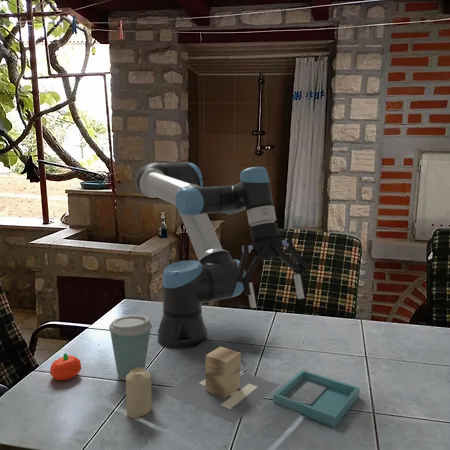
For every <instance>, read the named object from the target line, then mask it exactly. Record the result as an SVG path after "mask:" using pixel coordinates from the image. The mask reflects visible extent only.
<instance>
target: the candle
mask: <svg viewBox="0 0 450 450" xmlns="http://www.w3.org/2000/svg"><path fill="white" fill-rule="evenodd" d="M125 399H126V401H125V403H126V415H127V416H128V418H131V419H134V420H140V419H143V417H142V416H145V415H147V414H149V413H150V412H151V411H152V403H153V402H152V401H153V400H152V374H151V373H150V372H149V371H148V370H147V369H144V368H136V369H134V370H131V371H130V373H129V374H128V375H127V376H126V380H125Z"/></svg>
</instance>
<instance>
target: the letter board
mask: <svg viewBox="0 0 450 450" xmlns="http://www.w3.org/2000/svg"><path fill="white" fill-rule="evenodd" d="M244 373H245V374H244V375H243V376H241V377H240V388H239V389H237V390H236V391H235V392H233V393H232V394H231V395H229V396H228V397H227V398H224V397H221V396H219V395H216V394H214V393H211V392H209V391H206V390H205V367H204V368H202V369H201V370H199V371H197V372H196V373H193V374H192V375H190V377H188V378H186V379H185V380H183V381H182V382H180V383H178V384H176V385H175V386H173V387H172V388H170V389H169V390H167V391H166V392H164V393H163V394H164V395H167V396H169V397H171V398H173V399H175V400H178V401H180V402H183V403H184V404H187V405H189V406H192V407H195V408H197V409H199V410H201V411H203V412H205V413H208V414H211V415H213V416H215V417H218V418H220V419H222V420H224V421H226V422H230V423H232V424H235V423H236V422H238V421H239V420H240V419H241V418H243V416H244V415H246V414H247V413H248V412H249V411H250V410H252V409H253V408H254V407H255V406H256V405H257V404H258V403H260V402H261V401H262V400H264V399H265V398H266V397H267V396H268V395H269V394H270V393H272V392H273V391H274V390H275V389H277V387H279V386H280V384H279V383H275V382H272V381H269V380H267V379H264V378H261V377H259V376H255V375H252V374H249V373H247V372H244Z"/></svg>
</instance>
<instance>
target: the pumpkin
mask: <svg viewBox="0 0 450 450" xmlns="http://www.w3.org/2000/svg"><path fill="white" fill-rule="evenodd" d="M81 370H82V364H81V360H80V359H79V358H78V357H77V356H75V355H68V353H67V352H65V353H63V356H61V357H59V358H58V359H56V360H54V361H53V362H52V363H51V365H50V370H49V374H50V376H51V377H52V378H53V379H55V380H56V381H67V380H70V379H72V378H74V377H75V376H78V374H79V373H80V371H81Z"/></svg>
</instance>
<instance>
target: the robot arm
mask: <svg viewBox="0 0 450 450" xmlns="http://www.w3.org/2000/svg"><path fill="white" fill-rule="evenodd" d="M239 177H240V178H239V179H240V182H238V183H237V184H232V185H219V186H203V185H204V181H203V180H202V179H203V174H202V172H201V170H200V168H199V167H198V166H197V165H196V164H194V163H192V162H185V161H181V162H152V163H148V164H146V165H144V166H142V167H141V168H140V169H139V170H138V171H137V173H136V176H135V179H134V181H135V187H136V188H137V190H138V192H139V193H140V194H142V195H144V196H146V197H147V198H150V199H151V198H157V199H160V200H162V201H165V202H167V203H170V204H172V205H174V206H176V210H178V212H179V215H180V218H181V219H182V222H183V224H184V227H185V231H186V232H187V235H188V237H189V240H190V242H191V244H192V247H193V249H194V253H195V255H196V257H197V260H192V259H190V260H180V261H177V262H173V263H171V264H169V265H167V266H166V267H165V268H164V270H163V271H162V272H163V275H162V283H161V285H162V309H163V311H162V312H163V313H162V317H161V321H160V324H159V327H158V330H157V342H158V343H159V344H160V345H162V346H165V347H168V348H170V349H171V348H172V349H191V348H196V347H198V346H200V345H201V344H204V343H205V342H207V340H208V330H207V328H206V324H205V321H204V318H203V315H202V304H205V303H210V302H215V301H216V302H217V301H220V300H221V301H222V300H226V299H231V298H234V297H238V296H240V295H241V294H242V293H243V292H244V295H245V296H247V297H248V301H249V305H250V309H256V308H257V302H256V297H255V290H254V284H253V282H250V280H251V278H252V276H253V275H254V272H255V271H256V269H257V267H258V266H259V264H260V262H261V260H267V259H274V258H277V259H279V260H280V261H281V262H283V264H285V265H286V266H288V268H289V269H291V270H292V271H293V272H294V273H295V274H293V275H292V276H293V281H294V286H295V291H296V297H297V299H298V300H302V299H305V295H304V289H303V286H305V278H304V273H305V271H307V270H309V265H308V263H306V261H305V260H304V258H303V256H302V255H301V254H300V252H298V250H297V248H296V247H295V246H294V242H293V239H292V238H291V237H288V238H285V239H283V240H281V238H280V230H279V226H278V223H277V222H276V221H277V215H276V211H275V210H276V209H275V205H274V199H273V195H272V188H271V181H270V177H269V175H268V171H267V169H266V168H265V167H264V166H253V167H248V168H245V169H243V170H242V171H241V172H240V174H239ZM244 210H246V216H247V221H248V225H249V226H250V228H249V233H250V236H251V242H252V243H251V245H249V244H244V245H242V246H241V256H240V260H239V259H237V258H235V259H233V258H232V255H231V253H230V251H228V250H225V249H223V247H222V245H221V243H220V240H219V238H218V235H217V233H216V231H215V229H214V227H213V226H214V225H213V224H212V222H211V219H210V217H209V214H221V213H222V214H224V213H225V214H227V215H233V214H234V215H235V214H238V213H240V212H242V211H244ZM282 247H284V248H285V249H286V250H287V251H288V253H289V255H290V256H291V257H292V259H293V260H292V259H291V258H290V257H289V256H288V255H287V254H286V253H285V252H284V250H282ZM251 251H253V252H254V253H255V255H254V257H253V258H252V260H251V263H250V265H249V267H248V269H247V271H246V266H247V262H248V259H249V254H250V253H251Z"/></svg>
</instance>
